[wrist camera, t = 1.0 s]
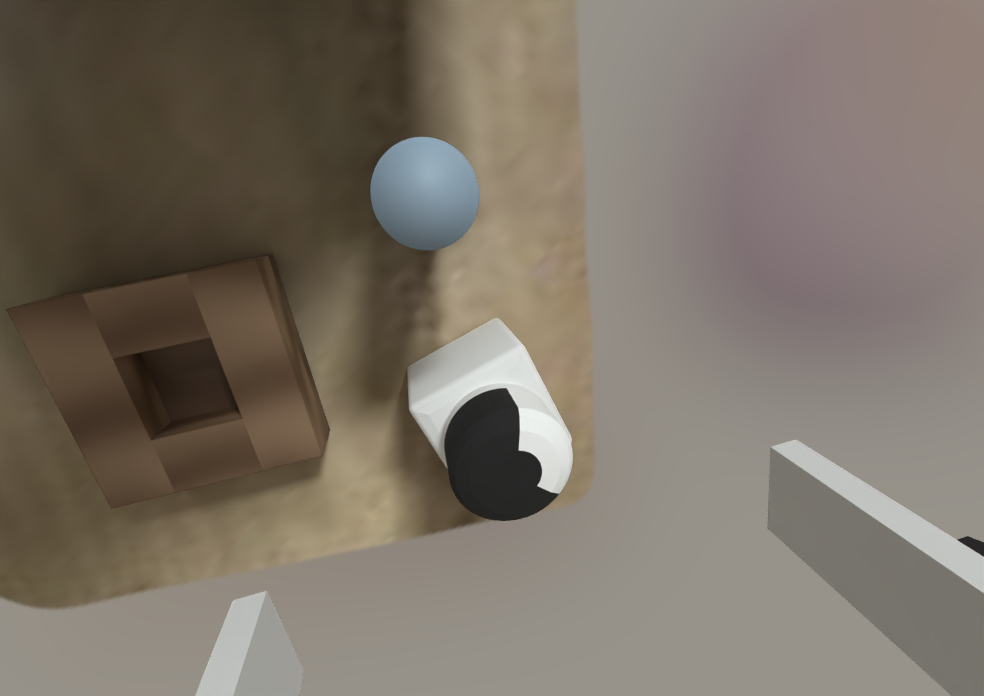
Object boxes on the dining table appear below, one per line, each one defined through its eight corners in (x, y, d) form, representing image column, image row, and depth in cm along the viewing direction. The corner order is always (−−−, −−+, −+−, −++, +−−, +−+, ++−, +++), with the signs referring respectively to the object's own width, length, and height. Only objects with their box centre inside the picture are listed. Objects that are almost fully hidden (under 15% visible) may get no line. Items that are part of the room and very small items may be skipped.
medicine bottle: (455, 446, 34) (483, 565, 23) (404, 366, 32) (408, 455, 20) (541, 397, 34) (611, 492, 23) (497, 314, 32) (551, 374, 20)
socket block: (54, 296, 27) (6, 309, 23) (272, 253, 28) (255, 260, 25) (142, 475, 30) (111, 508, 27) (329, 429, 32) (321, 455, 28)
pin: (374, 171, 28) (357, 147, 16) (440, 159, 28) (467, 128, 17) (390, 239, 29) (385, 260, 18) (453, 226, 30) (487, 239, 18)
